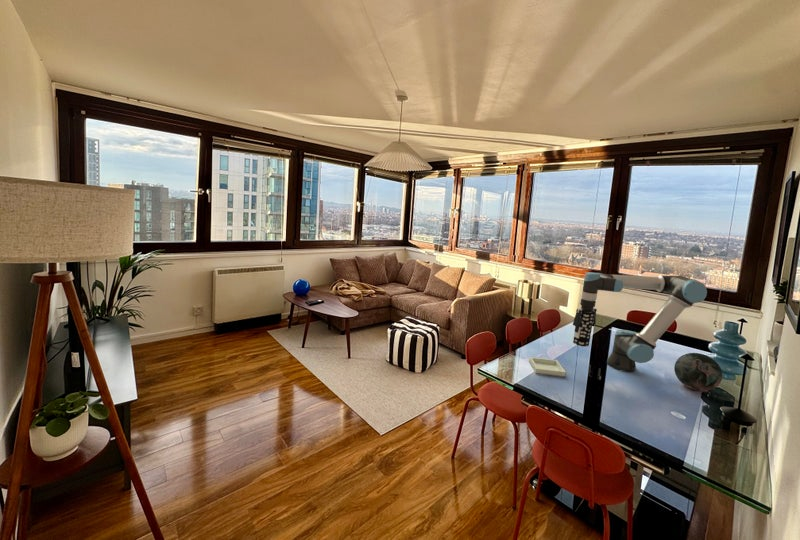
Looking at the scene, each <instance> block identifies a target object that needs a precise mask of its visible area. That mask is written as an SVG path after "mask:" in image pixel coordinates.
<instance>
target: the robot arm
mask: <svg viewBox="0 0 800 540" xmlns="http://www.w3.org/2000/svg"><path fill="white" fill-rule="evenodd" d="M582 285H583V286H582V292H581V298H580V303H579V304H580V308H576V311H575V315H574V319H573V322H572V325H573V326H574V333H575V334H574V335H573V338H574V337H576V338H579V335H580V329H581V327H580V325H581V323H582V319H580V317H581V313H582V311H583V312H592V311H594V312H595V314H594V319H593V325H592V328H593V327H595V326H596V322H597V311H598V310H597V308H595V306H596V300H597V297H598V291H604V292H613V293H620V292H622V290H623V289H636V290H650V291H651V290H653V291H657V292H659V293H665V294H667V296H668V299H666V301H665V302H664V304H663V305H662V306H661V307H660V308H659V310H658V311H657V312H656V313H655V314H654V315H653V317H652V318H651V319H650V320H649V321H648V323H647V324H646V325H645V326H644V327H643V329H641V331H640V332H636V331H632V330H628V329H617V330H616V331H615V334H614V339H613V345H612V351H611V353H610V354H609V356H608V357H607V359H606V365H608V366H609V367H611V368H612V369H615V370H617V371H622V372H626V373H632V372H636V370H637V369H636V368H637V366H636V363H639V364H644V363H645V364H646V363H648V362H650V361H651V360H652V359H653V358H654V355H655V354H654V350H655V349H656V348H657V344H656V342H657V341H658V340H659V339H660V338H661V337H662V336H663V334H664V333H665V332H666V331H667V330H668V329H669V327H670V326H671V325H672V324H673V323H674V322H675V321H676V319H677V318H679V316H680V315H681V314H682V313H683V312H684V310H685V309H687V308H691V307H692V306H693V305H694V304H696V303H701V302H703V301H704V300H705V298H706V297H707V296H708V295H707V294H708V291H707V287H706V285H705V284H704V283H703V282H702V281H700V280H697V279H694V278H690V277H687V276H683V275H657V276H643V275H625V274H624V275H623V274H622V275H621V274H606V273H601V272H592V271H589V272H585V275H584V279H583V284H582Z"/></svg>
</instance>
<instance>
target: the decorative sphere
mask: <svg viewBox="0 0 800 540" xmlns="http://www.w3.org/2000/svg"><path fill="white" fill-rule="evenodd" d="M673 369H674V373H675V376H676V378H677V379H678V381H679V382H680V383H681V384H682V385H683V386H685V387H687V388H688V389H691V390H695V391H697V392H698V391H699V392H703V391H704V392H705V391H706V392H707V391H710V390H711V391H712V390H713V389H716V388H717V387H718V386H719V385H721V382H722V381H723V371H722V368H721V366H720V365H719V363H718V362H717V361H716V360H715V359H713V357H710V356H709V355H707V354H705V353H704V354H703V353H701V352H700V353H699V352H688V353H685V354H682V355H681V356H680V357H678V358H677V359H676V361H675V363H674V368H673Z"/></svg>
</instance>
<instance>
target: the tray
mask: <svg viewBox="0 0 800 540" xmlns="http://www.w3.org/2000/svg"><path fill="white" fill-rule="evenodd" d="M528 362H529V365H530V366H531V368H532V369H533V371H534V373H535V374H536V375H543V374H546V375H545V376H551V375H554V376H553V377H559V376H562V378H566V373H567V372H566V370H565V369H564V368H563V366H562V365H561V363H560V362H559V360H557V359H552V358H551V359H550V358H542V357H532V356H529V359H528Z"/></svg>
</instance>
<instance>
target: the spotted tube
mask: <svg viewBox="0 0 800 540" xmlns="http://www.w3.org/2000/svg"><path fill="white" fill-rule="evenodd" d="M594 314H595V312H594V311H592V312H583V311H582V313H581V317H580V319H582V323H581V325H580V327H581V329H580V335H579V338H576V337H574V336H573V339H572V340H573V341H572V342H573V344H575V345H577V346H580V347H589V345H590V341H591V335H592V330H593V326H592V325H593V319H594ZM574 334H575V332H574Z"/></svg>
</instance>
